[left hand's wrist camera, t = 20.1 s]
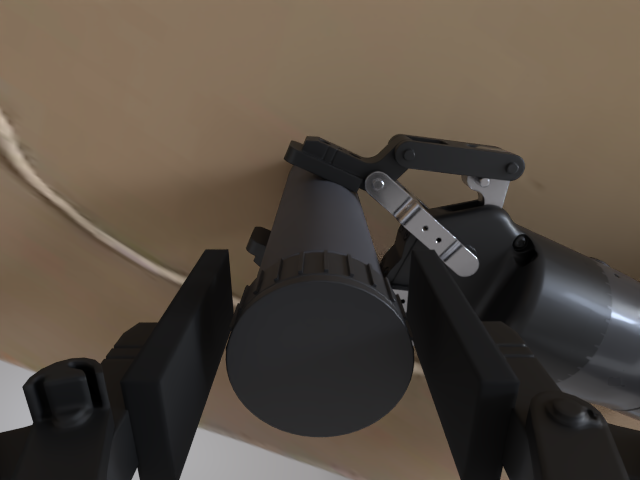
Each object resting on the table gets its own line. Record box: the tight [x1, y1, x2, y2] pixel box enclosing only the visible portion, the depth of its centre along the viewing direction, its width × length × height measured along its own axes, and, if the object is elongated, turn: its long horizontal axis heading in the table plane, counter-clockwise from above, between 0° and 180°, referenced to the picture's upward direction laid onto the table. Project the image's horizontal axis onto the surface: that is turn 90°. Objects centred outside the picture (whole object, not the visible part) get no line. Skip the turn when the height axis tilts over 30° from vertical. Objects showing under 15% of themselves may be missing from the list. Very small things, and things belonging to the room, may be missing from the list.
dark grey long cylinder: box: [257, 165, 383, 277], centre depth 20 cm, size 4×4×18 cm
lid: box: [226, 250, 414, 437], centre depth 12 cm, size 5×5×2 cm
